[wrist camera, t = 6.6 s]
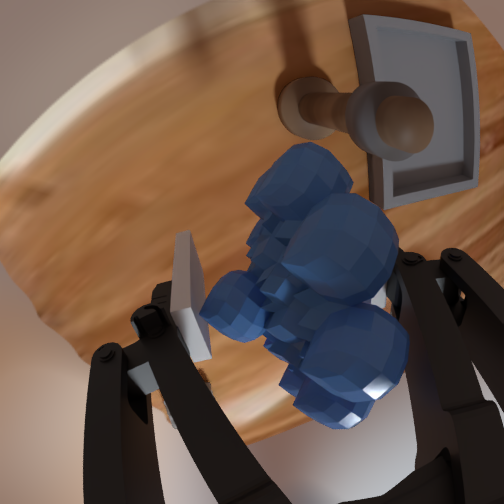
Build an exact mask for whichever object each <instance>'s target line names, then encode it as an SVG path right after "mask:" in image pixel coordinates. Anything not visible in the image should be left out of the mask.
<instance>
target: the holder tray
mask: <svg viewBox="0 0 504 504" xmlns="http://www.w3.org/2000/svg"><path fill="white" fill-rule="evenodd" d="M348 22H349V27H350V31H351V36H352V41H353V47H354V52H355V58H356V64H357V70H358V76H359V83H360V86H361V85H362V84H364V83H367V82H373V81H390V82H400V83H403V84H405V85H407V86H409V87H410V88H412V89H413V90H414V91H415V92H416V93H417V95H418V96H419V97H420V99H421V100H422V101H423V102H425V103H426V104H427V106H428V107H429V109H430V110H431V113H432V115H433V120H434V132H433V136H432V139H431V141H430V143H429V145H428V146H427V147H426V148H425V149H424V150H423V151H421V152H419V153H415V154H413V155H412V156H411V157H409V158H408V159H405V160H402V161H396V162H395V161H389V160H386V159H383V158H381V157H378V156H376V155H373V154H370V153H368V152H367V157H368V173H369V195H370V201H371V202H373V203H374V204H376V205H377V206H379V207H380V208H382V209H383V210H386V209H390V208H394V207H398V206H402V205H406V204H410V203H414V202H418V201H422V200H426V199H430V198H434V197H438V196H442V195H446V194H451V193H455V192H459V191H463V190H467V189H471V188H475V187H478V175H479V156H480V113H479V95H478V82H477V72H476V64H475V56H474V50H473V43H472V38H471V33H467V32H463V31H460V30H456V29H452V28H448V27H444V26H439V25H434V24H430V23H424V22H419V21H413V20H407V19H401V18H393V17H385V16H376V15H365V14H363V15H360V16H357V17H355V18H352V19H349V20H348Z"/></svg>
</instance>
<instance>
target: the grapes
mask: <svg viewBox="0 0 504 504" xmlns="http://www.w3.org/2000/svg"><path fill="white" fill-rule="evenodd" d="M352 185H353V181H352V179H351V177H350V175H349V174H348V172H347V170H346V169H345V168H344V167H343V166H342V164H341V163H340V162H339V161H338V160H337V159H336V158H335V157H334V156H333V154H332V153H331V152H330V151H329V150H327V149H325V148H323V147H321V146H319V145H317V144H314V143H312V142H308V143H302V144H296V145H293V146H292V147H291V148H290V149H289V150H287V151H286V152H285V153H284V154H283V155H282V156H281V157H280V158H279V159H278V160H277V161H275V162H274V164H273V165H272V167H271V168H269V169H268V170H267V171H266V172H265V173H264V174H263V175H262V176H261V177H260V178H259V179H258V181H257V182H256V184H255V186H254V188H253V189H252V191H251V193H250V195H249V197H248V198H247V200H246V202H245V204H246V205H247V206H248V207H249V208H250V209H251V210H252V211H253V212H254V213H255V214H256V215H257V216H259V217H260V218H261V219H260V220H259V221H258V222H257V224H256V225H255V227H254V229H253V230H252V232H251V234H250V236H249V238H248V240H247V242H246V244H247V245H248V246H250V247H251V249H250V250H249V252H248V254H247V255H246V256H247V257H248V258H250V259H251V261H252V262H251V264H250V266H249V268H248V270H247V271H242V270H236V271H231V272H229V273H227V274H226V275H224V276H223V277H221V278H220V280H219V281H218V282H217V283H216V285H215V286H214V287H213V288H212V290H211V292H210V294H209V295H208V297H207V299H206V300H205V302H204V304H203V306H202V308H201V310H200V312H199V315H200V316H201V317H202V318H203V319H204V320H205V321H207V322H208V323H209V324H210V325H211V326H213V327H214V328H215V329H216V330H218V331H219V332H220V333H222V334H223V335H225V336H227V337H229V338H231V339H233V340H237V341H240V342H244V343H245V342H248V341H252V340H255V339H256V338H258V337H259V336H261V335H262V334H263V335H264V336H265V337H266V338H267V339H266V341H265V344H264V347H265V348H266V349H268V351H269V352H271V353H272V354H273V355H275V356H276V357H277V358H279V359H280V360H283V361H285V362H287V363H289V365H288V367H287V369H286V371H285V373H284V375H283V377H282V379H281V381H280V383H279V386H281V387H282V388H283V389H284V390H286V391H287V392H288V393H290V394H291V395H293V396H294V397H296V399H295V401H294V403H293V406H295V407H296V408H297V409H299V410H300V411H301V412H303V413H304V414H306V415H307V416H309V417H310V418H312V419H314V420H315V421H317V422H319V423H321V424H323V425H325V426H328V427H330V428H332V429H350V428H352V427H355V426H356V425H357V424H358V423H360V422H361V421H363V420H364V419H365V418H367V416H368V414H369V412H370V410H371V408H372V406H373V404H374V402H375V400H378V399H381V398H383V397H384V396H385V395H386V394H387V393H388V392H390V391H391V390H392V389H393V388H394V387H395V386H396V385H398V383H399V381H400V378H401V376H402V374H403V372H404V369H405V367H406V365H407V362H408V354H409V345H410V340H409V334H408V333H407V331H406V330H405V329H404V328H403V326H402V325H401V324H400V323H399V322H398V320H397V319H396V318H394V317H393V316H392V315H390V314H389V313H387V312H386V311H384V310H383V309H381V308H380V307H379V306H377V305H373V304H368V303H363V302H364V301H367V300H369V299H372V298H374V296H375V295H376V294H377V293H378V291H379V290H380V289H381V288H382V287H383V285H384V284H385V283H386V282H387V280H388V279H389V278H390V276H391V273H392V270H393V267H394V264H395V261H396V258H397V255H398V246H399V238H398V235H397V233H396V230H395V228H394V226H393V225H392V223H391V222H390V221H389V219H388V218H387V217H386V216H385V214H384V213H383V212H382V210H381V209H380V208H379V207H378V206H376V205H375V204H373V203H371V202H370V201H368V200H366V199H365V198H363V197H361V196H359V195H358V194H356V193H350V190H351V188H352Z"/></svg>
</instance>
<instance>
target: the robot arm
mask: <svg viewBox="0 0 504 504" xmlns="http://www.w3.org/2000/svg"><path fill="white" fill-rule="evenodd" d="M461 291H462V292H463V293H464V294H465V299H463V298H462V297H461V296H460V295H461ZM386 297H388V298H389V299H390V300H391V302H392V304H391V312H390V315H392V316H393V317H394V318H396V319H397V320H398V322H399V323H400V324H401V325H402V326H403V328H404V329H405V330H406V331H407V333H408V334H409V340H410V345H409V354H408V362H407V365H406V367H405V373H406V378H407V383H408V387H409V393H410V400H411V405H412V411H413V418H414V425H415V432H416V440H417V455H416V459H415V471H413V472H412V473H411V474H409V475H408V476H407V477H406V478H405V479H403V480H402V481H401V482H400V483H398V484H397V485H396V486H395V487H393V488H392V489H391V490H389V491H388V492H387V493H385V494H384V495H381V496H378V497H372V498H367V499H361V500H355V501H348V502H341V503H338V504H504V427H503V423H502V419H501V416H500V413H499V409H498V407H497V405H496V403H495V402H494V401H490V400H488V401H487V400H485V399H484V397H483V395H482V391H481V388H480V385H479V382H478V379H477V376H476V373H475V370H474V367H473V365H472V362H473V363H474V365H475V367H476V368H477V370H478V371H479V373H480V374H481V376H482V378H483V379H484V381H485V382H486V384H487V386H488V387H489V389H490V390H491V392H492V394H493V395H494V397H495V399H496V400H497V402H498V404H499V405H500V407H501V409H502V411H503V412H504V289H503V288H502V287H501V286H500V285H499V284H498V283H497V282H496V281H495V280H494V279H493V278H492V277H491V276H490V275H489V274H488V273H487V272H486V271H485V270H484V269H483V268H482V267H481V266H480V265H479V264H477V263H476V262H475V261H474V260H473V259H472V258H471V257H470V256H469V255H468V254H466V253H465V252H464V251H462V250H459V249H457V248H447V249H445V250H443V251H442V252H441V257H440V260H430V261H426V259H425V258H424V257H423V256H422V255H420V254H418V253H414V252H404V251H403V250H402V249H401V248H399V247H398V255H397V258H396V261H395V264H394V267H393V270H392V273H391V276H390V278H389V279H388V280H387V282H386V283H385V284H384V285H383V287H382V288H381V289H380V290H379V291H378V293H377V294H376V295H375V296H374V298H372V299H369V300H367V301H364V302H363V303H368V304H373V305H377V306H379V307H380V308H384V307H386ZM151 299H152V300H151V303H150V304H147V305H143V306H142V307H140V308H138V309H137V310H136V311H135V312H134V313H133V314H132V316H131V324H132V326H133V328H134V330H135V331H136V333H137V335H138V337H139V340H138V341H137V342H135V343H133V344H131V345H129V346H127V347H125V348H123V349H122V347H121V346H120V345H119V344H118V343H114V342H112V343H107V344H104V345H102V346H101V347H99V348H98V349H97V350H96V351H95V353H94V354H93V357H92V360H91V368H90V375H89V384H88V392H87V403H86V414H85V430H84V451H83V452H84V453H83V454H84V455H83V493H84V504H165V501H164V496H163V490H162V484H161V478H160V471H159V465H158V458H157V450H156V442H155V433H154V424H153V414H152V402H151V392H153V391H155V390H158V389H160V391H161V394H162V396H163V398H164V401H165V403H166V405H167V407H168V410H169V412H170V414H171V416H172V418H173V420H174V422H175V425H176V427H177V429H178V431H179V433H180V435H181V437H182V439H183V441H184V443H185V445H186V447H187V449H188V450H189V453H190V454H191V456H192V458H193V460H194V462H195V464H196V466H197V467H198V469H199V471H200V473H201V475H202V476H203V478H204V480H205V481H206V483H207V485H208V487H209V489H210V490H211V492H212V494H213V495H214V497H215V499H216V500H217V502H218V504H292V503H291V502H290V501H289V499H288V498H287V497H286V496H285V494H284V493H283V492H282V491H281V490H280V488H279V487H278V486H277V485H276V484H275V482H273V481H272V480H271V478H270V477H269V476H268V475H267V474H266V472H265V471H264V469H263V468H262V467H261V465H260V464H259V463H258V461H257V460H256V459H255V457H254V456H253V454H252V453H251V452H250V450H249V449H248V448H247V446H246V445H245V443H244V442H243V440H242V439H241V437H240V436H239V434H238V433H237V432H236V430H235V429H234V427H233V426H232V424H231V423H230V421H229V420H228V418H227V417H226V415H225V414H224V412H223V411H222V409H221V407H220V406H219V404H218V403H217V401H216V400H215V398H214V396H213V395H212V393H211V392H210V390H209V388H208V387H207V385H206V384H205V382H204V380H203V379H202V377H201V375H200V374H199V372H198V370H197V369H196V367H195V365H194V363H193V362H198V361H203V360H207V359H212V354H211V345H210V336H209V327H208V322H207V321H205V320H204V319H203V318H202V317H201V316H200V315H199V312H200V310H201V308H202V306H203V304H204V302H205V300H206V297H205V287H204V275H203V270H202V267H201V264H200V261H199V258H198V254H197V251H196V248H195V245H194V242H193V238H192V235H191V232H190V230H187V231H184V232H180V233H176V240H175V251H174V262H173V275H172V281H168V282H164V283H160V284H157V286H156V287H155V289H154V290H153V292H152V298H151ZM190 356H191V358H192V360H193V362H192V360H191V358H190ZM471 361H472V362H471Z"/></svg>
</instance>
